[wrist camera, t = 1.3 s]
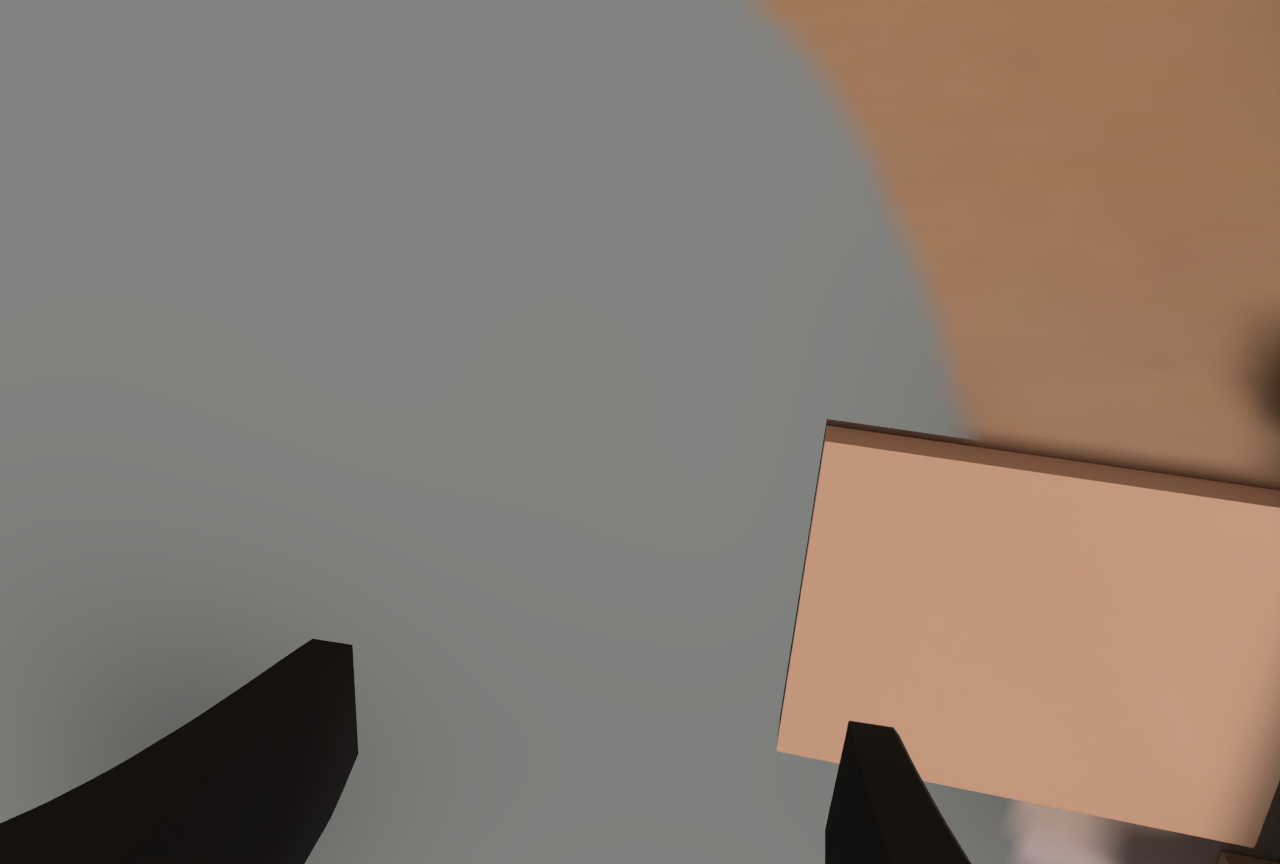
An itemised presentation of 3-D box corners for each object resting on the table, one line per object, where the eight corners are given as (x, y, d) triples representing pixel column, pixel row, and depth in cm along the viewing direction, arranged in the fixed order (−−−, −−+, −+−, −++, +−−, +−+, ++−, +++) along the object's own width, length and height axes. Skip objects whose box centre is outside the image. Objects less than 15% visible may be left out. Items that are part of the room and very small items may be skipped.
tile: (1228, 800, 25) (1254, 848, 24) (780, 712, 28) (775, 751, 26) (1338, 492, 22) (1376, 521, 21) (826, 418, 25) (825, 441, 23)
